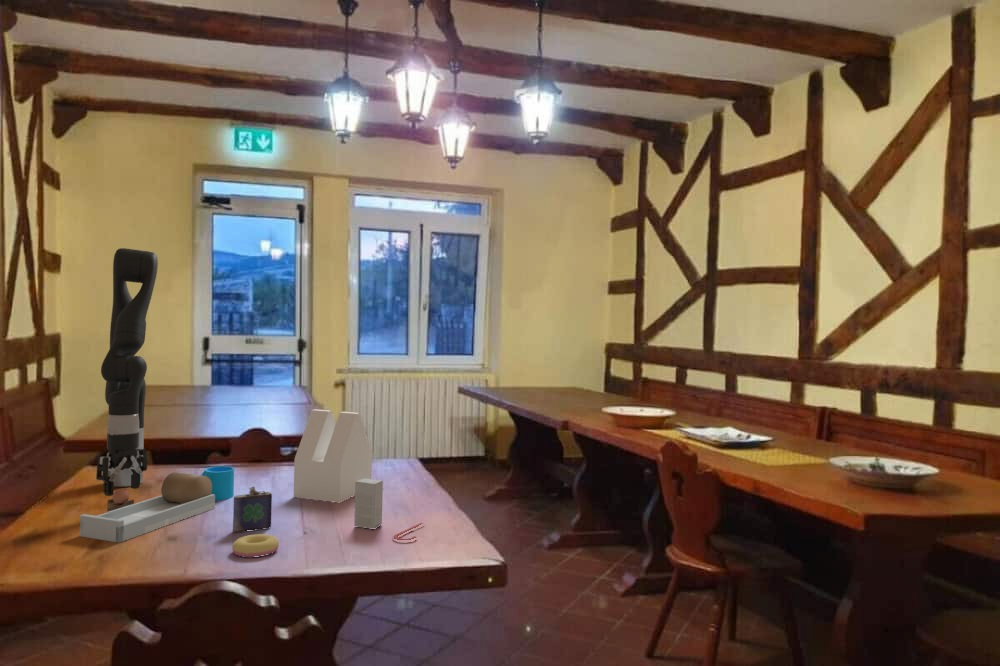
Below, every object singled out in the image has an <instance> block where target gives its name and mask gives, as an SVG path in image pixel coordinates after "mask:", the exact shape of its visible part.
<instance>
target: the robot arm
mask: <svg viewBox="0 0 1000 666" xmlns="http://www.w3.org/2000/svg"><path fill="white" fill-rule="evenodd" d="M158 262H159V259H158V255H157V254H156V253H155V252H153V251H148V250H140V249H133V248H121V247H120V248H118V249H116V251H115V253H114V255H113V263H112V265H113V266H112V288H113V289H112V291H113V293H112V308H111V309H112V311H111V316H110V317H111V319H110V326H109V327H110V329H109V330H110V331H109V350H108V351H107V353H106V355H105V356H104V359H103V361H102V364H101V367H100V368H101V369H100V374H101V377H102V378H103V380H104V381H105V382H106V383H105V389H104V391H105V393H104V397H105V398H104V399H105V403H106V404H107V406H108V416H107V417H108V418H107V422H106V423H107V424H106V425H107V426H106V429H107V430H106V433H107V434H106V448H107V450H108V452H107V453H106V456H98V457H97V463H96V478H95V479H96V480H97V481H102V482H103V494H104V495H105V496H106V497H107V496H108V497H112V496H113V493H114V488H115V487H117V488H118V487H122V488H123V487H125V488H126V487H130V488H131V489H133V490H137V489H139V488H140V486H141V484H143V482H144V472H146V471H147V469H148V458H147V452H148V450H147V449H146V448H145V447H144V444H145V443H144V440H145V438H144V437H145V435H144V434H145V402H146V390H147V388H146V387H147V386H146V380H145V377H146V374H147V371H148V370H147V369H148V365H147V362H146V361H145V358H143V357H142V356H139V355H136V354H137V353H138V352H139V351H140V350H141V348H142V347H143V346H144V343H145V341H146V332H147V320H146V319H147V314H148V310H149V306H150V303H151V300H152V296H153V292H154V288H155V285H156V284H155V283H156V280H157V275H158V267H159V265H158V264H159V263H158ZM127 282H130V283H139V284H142V285H141V287H140V289H139V291H138V292H137V293H136V295H135V296H134V297H133V298H132V296H131V293H130V292H129V289H128V286H127V285H128V284H127Z"/></svg>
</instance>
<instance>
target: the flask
mask: <svg viewBox="0 0 1000 666" xmlns="http://www.w3.org/2000/svg"><path fill="white" fill-rule="evenodd" d="M249 489H250V490H249V492H248V493H246V494H238V495H234V496H233V514H232V515H233V517H232V519H233V520H232V532H233V531H234V532H236V533H238V532H242V533H244V532H243V531H247V530H255V529H263V528H269V527H270V528H272V504H273V503H272V502H273V499H272V497H273V494H272V493H271V492H269V491H258V490H256V487H255V486H252V487H249ZM255 531H256V530H255ZM234 532H233V533H234Z"/></svg>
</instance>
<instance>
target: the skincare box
mask: <svg viewBox="0 0 1000 666" xmlns="http://www.w3.org/2000/svg"><path fill="white" fill-rule="evenodd" d="M383 481H384V480H380V479H372V478H371V479H364V478H363V479H361V480H358V481H356V482H355V496H354V523H353V524H354V526H358V527H366V528H376V527H378V526H379V525H381V524H382V525H383V495H384V494H383V490H384V487H383V486H384V483H383Z"/></svg>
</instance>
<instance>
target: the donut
mask: <svg viewBox="0 0 1000 666" xmlns="http://www.w3.org/2000/svg"><path fill="white" fill-rule="evenodd" d="M279 546H280V542H279V539H278V538H277V537H276V536H274V535H273V534H272V535H271V534H266V533H265V534H264V533H263V534H262V533H261V534H260V533H258V534H257V533H256V534H255V533H254V534H250V535H245V536H244V535H243V536H241V537H239V538H237V539H236V540H235V541H234V542H233V544H232V548H231V549H232V552H233V554H234V555H235V556H237V555H238V556H237V557H240V556H244V557H243V558H245V557H254V556H261V555H266V554H270V553H272V552H274V551H275V552H276V551H277V550H278V548H279ZM275 552H274V553H275ZM272 554H273V553H272ZM270 555H271V554H270Z"/></svg>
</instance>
